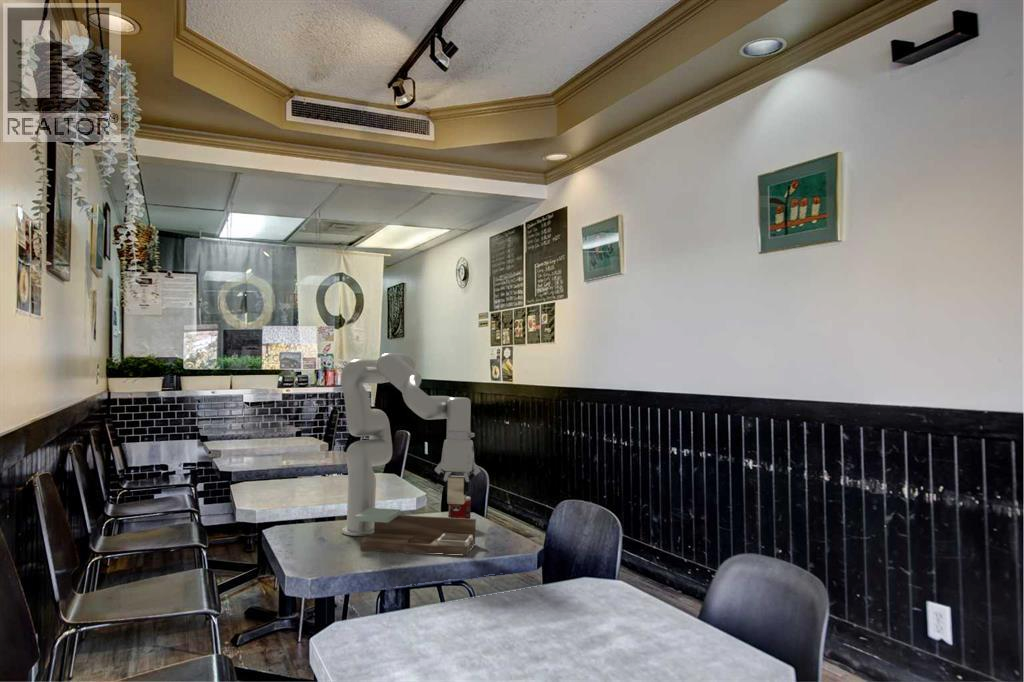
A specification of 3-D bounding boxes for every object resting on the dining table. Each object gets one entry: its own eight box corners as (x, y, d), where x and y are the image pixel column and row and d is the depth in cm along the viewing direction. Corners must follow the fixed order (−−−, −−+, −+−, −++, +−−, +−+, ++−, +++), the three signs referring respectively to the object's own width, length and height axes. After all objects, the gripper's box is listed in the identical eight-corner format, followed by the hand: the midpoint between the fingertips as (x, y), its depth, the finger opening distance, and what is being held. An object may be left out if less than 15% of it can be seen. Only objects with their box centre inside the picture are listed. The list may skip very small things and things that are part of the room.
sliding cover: (368, 512, 220) (368, 507, 220) (400, 514, 218) (400, 509, 218) (354, 520, 207) (354, 515, 207) (388, 522, 205) (388, 517, 205)
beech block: (450, 500, 211) (451, 475, 211) (465, 501, 210) (466, 476, 210) (447, 503, 206) (447, 477, 206) (462, 504, 205) (463, 478, 205)
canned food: (445, 526, 239) (446, 496, 240) (465, 524, 243) (466, 494, 243) (452, 531, 232) (453, 499, 233) (473, 529, 236) (474, 498, 236)
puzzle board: (374, 538, 219) (375, 513, 219) (475, 544, 214) (475, 518, 215) (360, 549, 205) (360, 522, 205) (466, 556, 201) (467, 528, 201)
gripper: (486, 435, 212) (485, 492, 211) (435, 434, 214) (433, 490, 213) (482, 437, 204) (481, 497, 203) (429, 436, 206) (427, 494, 205)
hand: (456, 493), depth 208 cm, fingers closed on beech block, 5 cm apart
